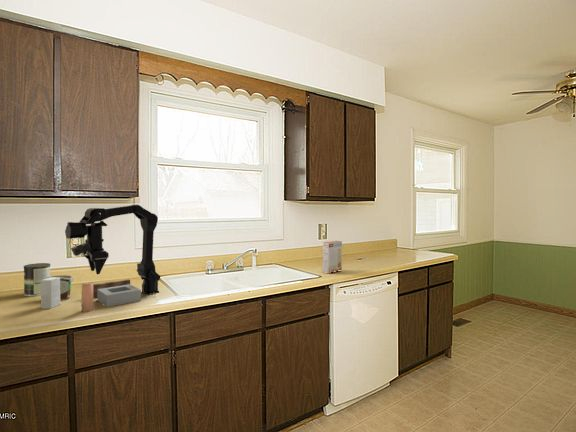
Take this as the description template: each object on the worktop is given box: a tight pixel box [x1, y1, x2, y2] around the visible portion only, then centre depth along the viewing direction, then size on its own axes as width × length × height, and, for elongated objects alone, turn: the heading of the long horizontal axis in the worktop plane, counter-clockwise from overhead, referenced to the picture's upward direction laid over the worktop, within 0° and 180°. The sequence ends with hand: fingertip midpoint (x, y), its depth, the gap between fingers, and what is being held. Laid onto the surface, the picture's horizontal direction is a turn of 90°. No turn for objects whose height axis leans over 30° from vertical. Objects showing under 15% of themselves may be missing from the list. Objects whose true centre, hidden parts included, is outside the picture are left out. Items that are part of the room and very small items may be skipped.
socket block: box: [96, 283, 142, 308], centre depth 147 cm, size 14×14×5 cm
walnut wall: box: [93, 279, 131, 299], centre depth 156 cm, size 18×2×6 cm, turn 135°
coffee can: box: [23, 262, 51, 297], centre depth 157 cm, size 10×10×14 cm
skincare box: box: [40, 277, 61, 310], centre depth 137 cm, size 6×4×12 cm
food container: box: [44, 274, 74, 301], centre depth 150 cm, size 12×6×10 cm, turn 92°
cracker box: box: [322, 240, 343, 274], centre depth 219 cm, size 14×6×21 cm, turn 133°
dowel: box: [81, 282, 94, 313], centre depth 132 cm, size 4×4×11 cm
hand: (95, 272), depth 141 cm, fingers open, 9 cm apart
